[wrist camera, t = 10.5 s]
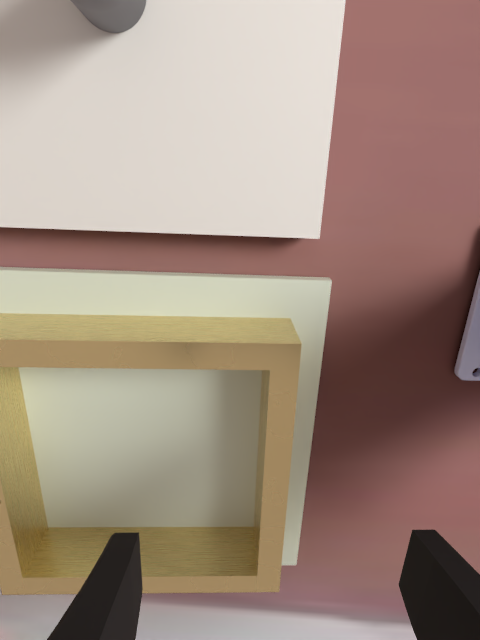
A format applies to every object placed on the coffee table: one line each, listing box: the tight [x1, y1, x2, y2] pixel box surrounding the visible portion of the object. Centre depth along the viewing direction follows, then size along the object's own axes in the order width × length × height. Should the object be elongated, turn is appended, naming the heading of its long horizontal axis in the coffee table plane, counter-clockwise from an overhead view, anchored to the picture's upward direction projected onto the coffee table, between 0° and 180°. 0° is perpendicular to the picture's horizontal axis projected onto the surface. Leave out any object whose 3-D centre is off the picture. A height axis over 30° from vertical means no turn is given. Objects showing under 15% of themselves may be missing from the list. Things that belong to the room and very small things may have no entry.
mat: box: [0, 267, 332, 565], centre depth 21 cm, size 18×18×1 cm
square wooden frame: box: [0, 313, 302, 595], centre depth 19 cm, size 14×14×3 cm
